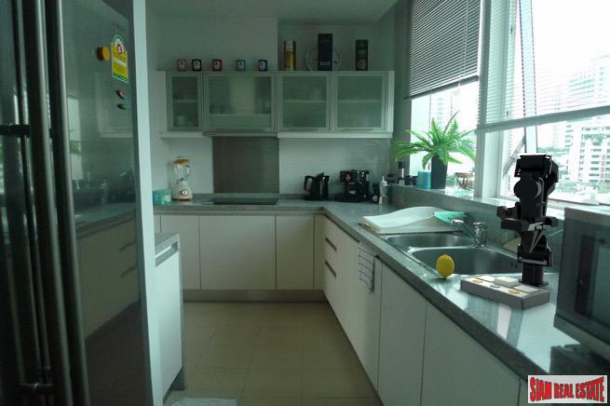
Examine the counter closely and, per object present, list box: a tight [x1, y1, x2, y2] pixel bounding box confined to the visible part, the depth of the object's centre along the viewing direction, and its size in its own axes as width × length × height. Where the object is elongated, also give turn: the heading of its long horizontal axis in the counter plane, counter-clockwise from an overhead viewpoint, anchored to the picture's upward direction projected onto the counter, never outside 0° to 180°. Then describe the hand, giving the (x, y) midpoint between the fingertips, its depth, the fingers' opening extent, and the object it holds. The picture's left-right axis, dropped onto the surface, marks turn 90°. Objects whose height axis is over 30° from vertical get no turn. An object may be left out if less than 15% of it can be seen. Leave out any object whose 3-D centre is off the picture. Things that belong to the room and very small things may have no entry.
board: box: [459, 273, 551, 311], centre depth 107 cm, size 12×19×3 cm, turn 29°
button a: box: [477, 276, 494, 283], centre depth 112 cm, size 4×4×2 cm
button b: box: [494, 275, 520, 288], centre depth 107 cm, size 4×4×2 cm
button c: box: [513, 285, 538, 294], centre depth 103 cm, size 4×4×2 cm
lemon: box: [435, 253, 455, 279], centre depth 123 cm, size 6×6×8 cm
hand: (528, 252), depth 107 cm, fingers closed
